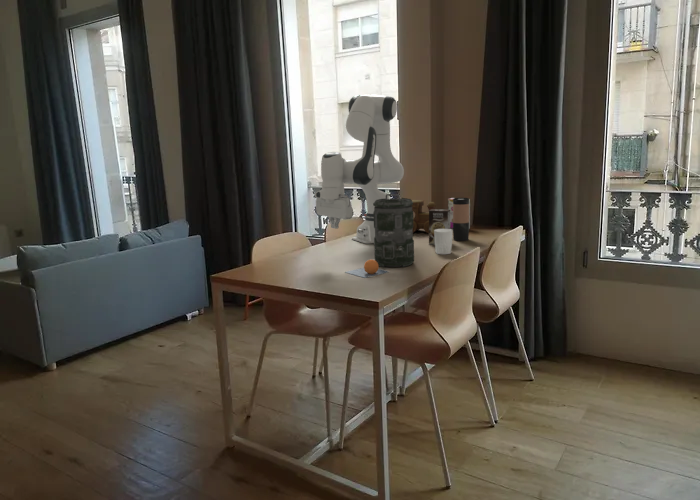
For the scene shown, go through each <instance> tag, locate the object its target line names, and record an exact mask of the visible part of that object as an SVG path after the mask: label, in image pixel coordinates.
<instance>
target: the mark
mask: <svg viewBox="0 0 700 500" xmlns="http://www.w3.org/2000/svg"><path fill="white" fill-rule="evenodd" d="M389 272H390V271H388V270H385V269H380V268H379V269H378V271H377V272H376V273H374V274H368V273H367V272H366V271H365V269H364V267H362V268H357V269H356V268H355V269H352V270H348V271H345V272H344V273H345V274H349V275H353V276H355V277H360V278H362V279H366V278H371V277H374V276H375V277H376V276H378V275H383V274H387V273H389Z"/></svg>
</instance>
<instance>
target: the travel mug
mask: <svg viewBox="0 0 700 500" xmlns="http://www.w3.org/2000/svg"><path fill="white" fill-rule="evenodd" d="M453 198H454V199H453V229H452V230H453V233H452V240H453V241H455V242H456V241H457V242H466V241H469V239H470V238H469V235H470V234H469V231H470V229H469V199H470V198H468V197H453Z"/></svg>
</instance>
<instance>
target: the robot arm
mask: <svg viewBox="0 0 700 500" xmlns="http://www.w3.org/2000/svg"><path fill="white" fill-rule="evenodd" d="M397 103H398V102H397V99H395V98H394V97H393V96H389V95H386V96H385V95H379V94H371V95H370V94H363V95H361V94H357V95H354V96H352V97H351V98H350V100H349V102H348V115H347V118H346V121H345V128H346V131H347V133H348V134H349V135H350V137H351V138H352V139H354V140H357V141H359V142H362V143H363V148H362V154H361V157H360V158H358V159H345V158H343V157H342V153H341V152H339V151H332V152H327V153H324V154H323V155H322V157H321V161H320V163H321V164H320V176H321V179H322V184H321V189H320V190H318V191H316V192H315V193H314V197H315V198H316V199H315V209H316V211H315V212H316V213H317V215H318V216H323V217H328V221H329V223H330V228H331V229H339V224H340V222H341V220H351V219H352V218H353V215H354V214H353V207H352V201H351V199H350V198H349V196H348V195H347V194H346V195H345V184H348V185H352V184H353V185H358V187H360V188H361V190H362V191H363V193H364V194H365V197H366V198H365V199H366V208H367V212H366V213H364V214H363V216H364V217H365V219H364V221H363V222H362V223H361V224H359V225H358V226H357V228H356V236H353V237H351V240H353V241H355V242H359V243H362V244H374V237H375V228H374V215H373V212H374V207H375V206H374V205H373V203H374V202H375V201H376V200H378V199H386V194H387V193H386V192H384V191H382V190H380V189H379V188H378V185H383V184H386V185H387V184H393V183H398V182H400V181H401V180H402V179H403V177H404V174H405V168H404V166H403V165H402V163H401V162H400V161H399V160H398V159H396V157H395V156H394V154H393V152H392V150H391V149H392V148H391V121H392V120H393V119H395V117H396V115H397V112H398V104H397ZM375 156H377V157H378V159H377V160H375ZM387 199H391V198H390V196H387Z"/></svg>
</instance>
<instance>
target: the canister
mask: <svg viewBox="0 0 700 500" xmlns="http://www.w3.org/2000/svg"><path fill="white" fill-rule="evenodd" d="M387 196H389V197H390V196H391V197H398V198H390V199H387ZM412 200H413V199H411V198H404V197H401V195H400V194H397V193H396V194H393V193H386V199H378V200H376V201H375V202H374V203H373V205H374V206H375V207H374V212H373V215H374V228H375V237H374V243H373V245H374V246H373V248H374V250H373V251H374V260H375V261H376V262H377V263H378V265H379V267H382V268H387V267H389V268H390V267H391V268H394V267H395V268H398V267H399V268H400V267H402V268H404V267H405V268H406V267H409V266H411V265H413V263H414V262H415V240H414V237H413V236H414V234H413V217H414V211H412V205H413V202H412Z"/></svg>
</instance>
